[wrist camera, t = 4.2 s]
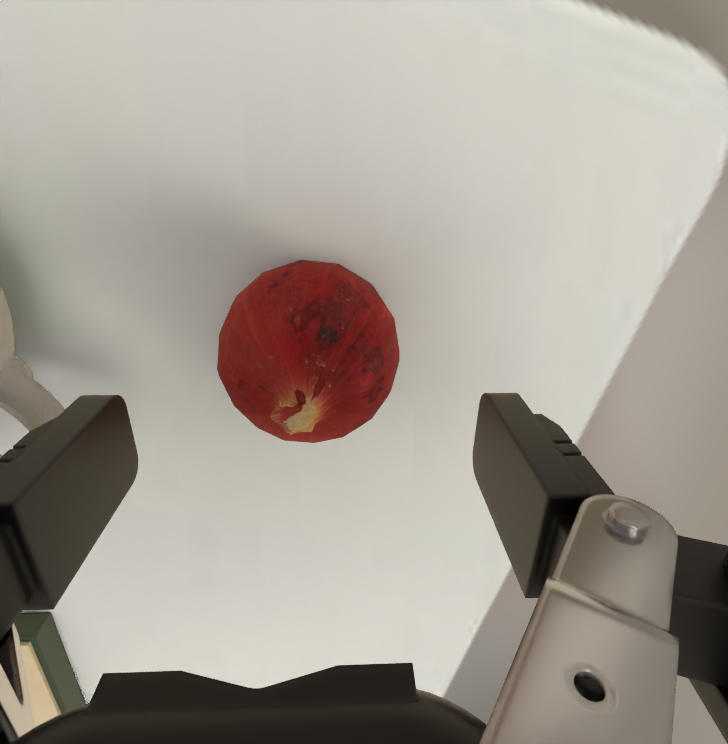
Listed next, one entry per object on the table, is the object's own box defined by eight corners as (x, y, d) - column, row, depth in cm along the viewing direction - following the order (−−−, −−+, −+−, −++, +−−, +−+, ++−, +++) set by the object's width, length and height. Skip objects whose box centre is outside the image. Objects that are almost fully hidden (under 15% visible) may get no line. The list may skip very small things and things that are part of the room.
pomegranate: (283, 212, 17) (244, 255, 10) (414, 290, 18) (465, 378, 11) (218, 342, 19) (145, 457, 12) (341, 403, 20) (344, 539, 13)
